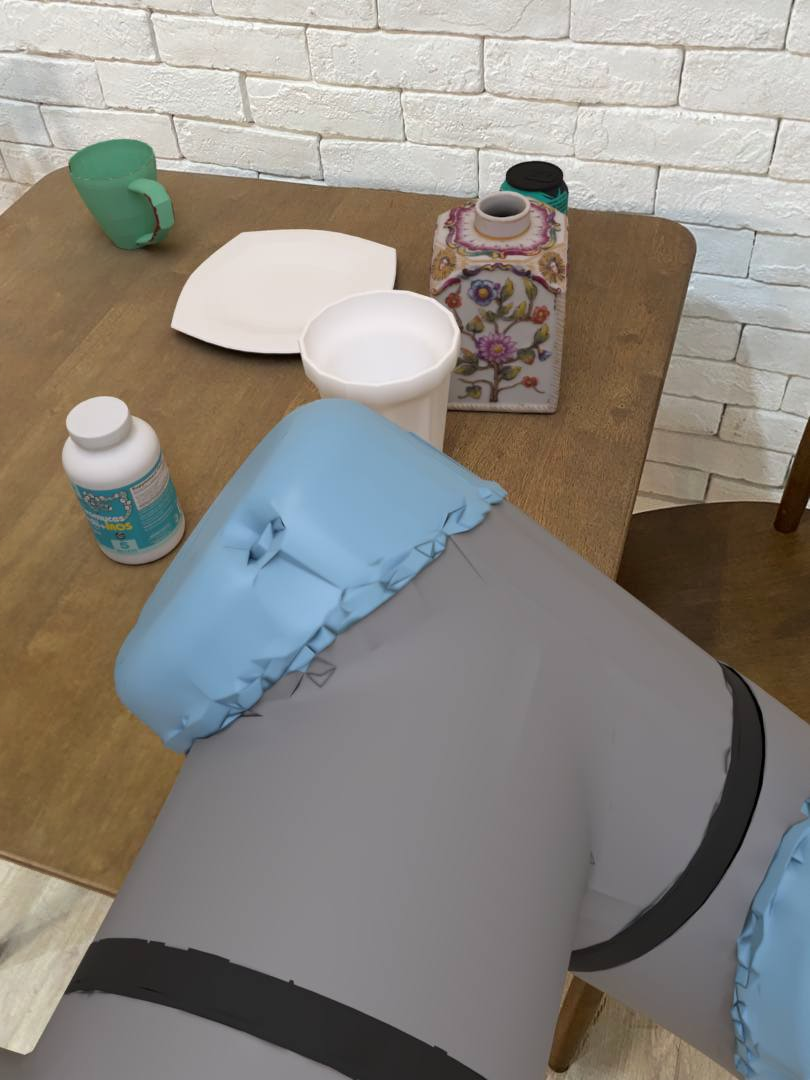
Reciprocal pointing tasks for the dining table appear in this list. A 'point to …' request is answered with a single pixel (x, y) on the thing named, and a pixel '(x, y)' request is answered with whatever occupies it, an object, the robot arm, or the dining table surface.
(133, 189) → the mug
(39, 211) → the dining table surface
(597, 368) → the dining table surface
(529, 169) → the teal jar
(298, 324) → the plate
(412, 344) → the cup
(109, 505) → the pill bottle
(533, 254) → the decorative jar
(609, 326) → the dining table surface
